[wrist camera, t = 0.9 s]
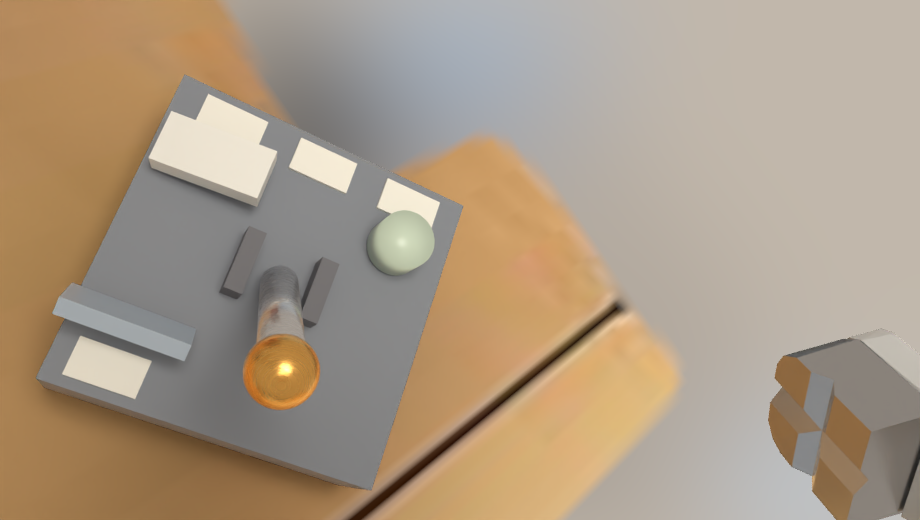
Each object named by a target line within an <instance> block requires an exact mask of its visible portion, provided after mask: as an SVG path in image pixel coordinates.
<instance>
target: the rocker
mask: <svg viewBox="0 0 920 520" xmlns="http://www.w3.org/2000/svg"><path fill="white" fill-rule="evenodd" d="M276 161H277V151H275V150H273V149H270V148H267V147H265V146H262V145H259V144H257V143H254V142H252V141H249V140H246V139H244V138H241V137H239V136H236V135H233V134H231V133H228V132H225V131H223V130H220V129H218V128H215V127H212V126H210V125H207V124H205V123H202V122H199V121H197V120H194V119H191V118H189V117H186V116H184V115H181V114H178V113H176V112H173V111H171V113H170V115H169V117H168V119H167V121H166V123H165V125H164V127H163V129H162V131H161V133H160V135H159V137H158V139H157V141H156V143H155V145H154V147H153V150H152V152H151V154H150V156H149V162H150V165H151V168H153V169H156V170H159V171H161V172H164V173H167V174H169V175H172V176H175V177H177V178H180V179H183V180H186V181H188V182H191V183H194V184H196V185H199V186H202V187H204V188H207V189H210V190H213V191H215V192H218V193H221V194H223V195H226V196H229V197H231V198H234V199H237V200H240V201H242V202H245V203H248V204H250V205H253V206H256V207H257V206H258V203H259V201H260V199H261V196H262V194H263V192H264V189H265V187H266V185H267V182H268V180H269V178H270V175H271V173H272V170H273V168H274V166H275V163H276Z"/></svg>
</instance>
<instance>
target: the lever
mask: <svg viewBox="0 0 920 520" xmlns="http://www.w3.org/2000/svg"><path fill="white" fill-rule="evenodd" d="M319 378H320V364H319V360H318V357H317V355H316V353H315V351H314V349H313V348H312V347H311V346H310V345H309V344H308V343H307V342H306V341H305V334H304V326H303V317H302V308H301V300H300V291H299V282H298V278H297V276H296V274H295V273H294V271H293V270H291V269H290V268H288V267H286V266H281V265H277V266H273V267H271V268H269V269H267V270H266V271H265V272H264V274H263V275H262V277H261V280H260V292H259V309H258V326H257V342H256V344H255V345H254V346H253V347H252V348H251V350H250V351H249V352H248V354H247V356H246V358H245V361H244V365H243V381H244V385H245V387H246V389H247V391H248V393H249V394H250V396H251V397H252V398H253V399H254V400H255V401H256V402H257V403H259V404H260V405H262V406H264V407H266V408H269V409H274V410H287V409H291V408H294V407H297V406H299V405H300V404H302V403H304V402H305V401H306V400H307V399H308V398H309V397H310V396H311V395H312V394H313V392H314V391H315V389H316V387H317V384H318V382H319Z"/></svg>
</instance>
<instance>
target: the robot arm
mask: <svg viewBox="0 0 920 520" xmlns="http://www.w3.org/2000/svg"><path fill="white" fill-rule="evenodd" d="M775 379H776V380H777V381H778V383H779V384H780V385H781V386H782V388H781V389H780V391H779V392H778V393H777V394H776V396H775V397H774V398H773V399H772V401H771V402H770V411H769V418H768V421H769V425H770V429H771V433H772V437H773V440H774V442H775V444H776V446H777V447H778V449H779V451H780V453H781V454H782V455H783V457H784V458H785V459H786V460H787V462H788V463H789V464H790V465H791V466H792V467H793V468H795V469H797V470H800V471H802V472H804V473H806V474H809V475H811V476H812V491H813V493H814V494H815V495H816V496H817V498H818V499H819V500H820V501H821V502H822V503H823V505H824V506H825V507H826V508H827V509H828V511H829V512H830V513H831V514H832V515H833V516H834V518H835V519H836V520H879V519H882V518H886V517H889V516H893V515H896V514H900V513H902V515H901V516H902V517H903V518H905V519H907V520H920V354H919V353H918V352H916V351H915V350H914V349H913V348H912V347H910V346H909V345H908V344H907V343H905V342H904V341H903V340H902V339H900V338H899V337H898V336H897V335H896V334H894V333H892V332H890V331H887V330H884V329H878V330H875V331H871V332H867V333H864V334H860V335H856V336H853V337H849V338H848V339H841V340H838V341H834V342H830V343H827V344H824V345H820V346H817V347H813V348H809V349H806V350H803V351H799V352H795V353H792V354H788V355H785V356H783V357H782V359H781V360H780V361H779V363H778V364H777V368H776V373H775Z"/></svg>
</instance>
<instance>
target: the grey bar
mask: <svg viewBox="0 0 920 520" xmlns="http://www.w3.org/2000/svg"><path fill="white" fill-rule="evenodd" d="M52 314H54V315H57V316H60V317H63V318H65V319H68V320H71V321H74V322H77V323H79V324H82V325H85V326H88V327H90V328H93V329H96V330H99V331H102V332H104V333H107V334H110V335H113V336H115V337H118V338H121V339H124V340H126V341H129V342H132V343H135V344H138V345H140V346H143V347H146V348H149V349H151V350H154V351H157V352H160V353H163V354H165V355H168V356H171V357H174V358H176V359H179V360H182V361H185V359H186V357H187V354H188V352H189V350H190V348H191V346H192V342H193V339H194V335H195V332H196V329H195V328H192V327H190V326H187V325H184V324H182V323H179V322H176V321H174V320H171V319H168V318H166V317H163V316H160V315H158V314H155V313H152V312H150V311H147V310H144V309H142V308H139V307H136V306H134V305H131V304H128V303H126V302H123V301H120V300H118V299H115V298H112V297H110V296H107V295H104V294H102V293H99V292H96V291H94V290H91V289H88V288H86V287H83V286H80V285H78V284H75V283H71V284H70V285H69V286H68V288H67V289H66V290H65V291H64V292H63V293H62V294H61V295H60V296H59V298H58V301H57V303H56V305H55V308H54V310H53V312H52Z"/></svg>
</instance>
